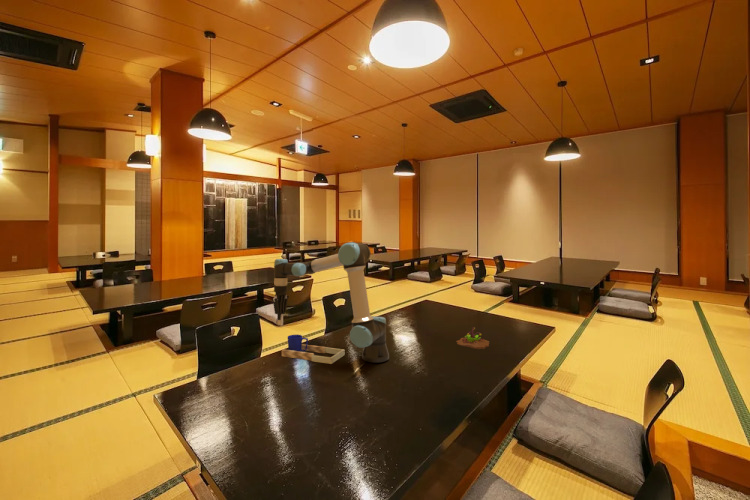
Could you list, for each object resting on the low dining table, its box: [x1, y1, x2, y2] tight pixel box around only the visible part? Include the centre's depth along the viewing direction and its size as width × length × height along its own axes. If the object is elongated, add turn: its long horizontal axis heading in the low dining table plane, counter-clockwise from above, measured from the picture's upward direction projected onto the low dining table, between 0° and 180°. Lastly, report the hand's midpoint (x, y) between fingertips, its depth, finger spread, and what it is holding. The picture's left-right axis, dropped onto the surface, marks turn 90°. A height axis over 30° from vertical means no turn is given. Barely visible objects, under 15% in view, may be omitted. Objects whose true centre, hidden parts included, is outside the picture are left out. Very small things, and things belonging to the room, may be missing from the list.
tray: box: [311, 346, 346, 365], centre depth 179 cm, size 12×16×3 cm
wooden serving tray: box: [281, 343, 326, 361], centre depth 184 cm, size 20×14×4 cm
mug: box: [287, 334, 309, 352], centre depth 186 cm, size 8×12×10 cm
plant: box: [455, 326, 490, 350], centre depth 205 cm, size 20×20×11 cm
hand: (280, 325), depth 190 cm, fingers closed
